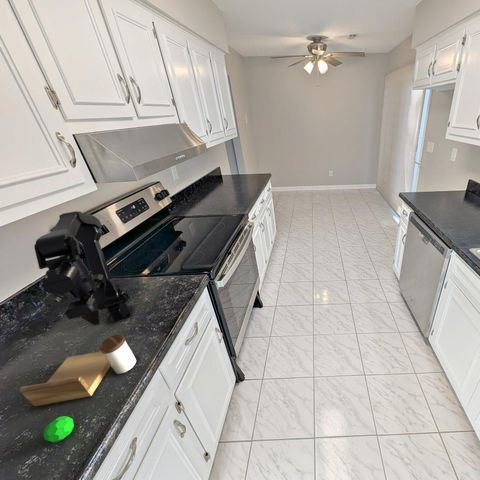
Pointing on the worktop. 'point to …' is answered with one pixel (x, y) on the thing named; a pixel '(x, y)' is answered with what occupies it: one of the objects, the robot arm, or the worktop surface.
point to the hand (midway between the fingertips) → (99, 315)
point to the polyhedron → (58, 429)
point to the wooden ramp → (70, 380)
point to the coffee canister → (118, 353)
